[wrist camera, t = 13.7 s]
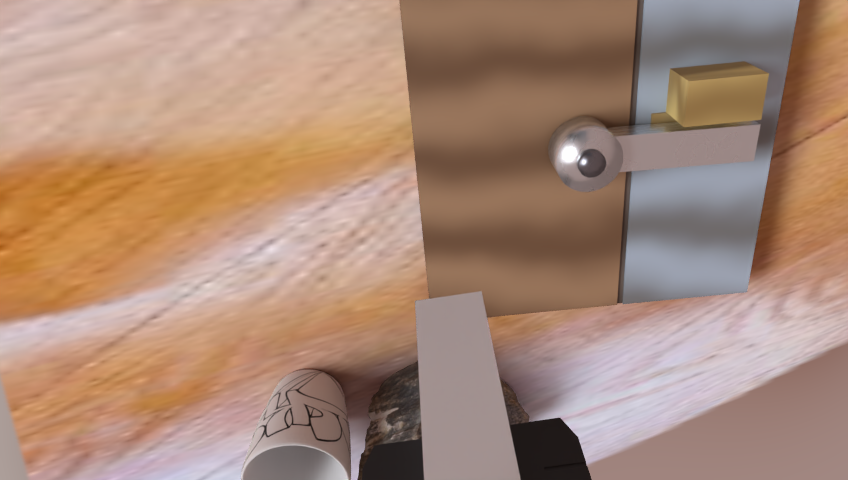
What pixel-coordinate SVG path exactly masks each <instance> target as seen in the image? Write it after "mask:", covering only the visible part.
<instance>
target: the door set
mask: <svg viewBox="0 0 848 480" xmlns="http://www.w3.org/2000/svg"><path fill="white" fill-rule="evenodd" d="M799 2H800V0H400V10H401V20H402V30H403V40H404V50H405V60H406V70H407V80H408V90H409V100H410V110H411V120H412V130H413V140H414V150H415V161H416V171H417V181H418V191H419V201H420V211H421V221H422V231H423V241H424V251H425V261H426V271H427V281H428V291H429V299H432V298H438V297H445V296H452V295H459V294H465V293H472V292H479V291H482V296H483V301H484V306H485V310H486V315H487V317H495V316H505V315H516V314H526V313H536V312H547V311H557V310H567V309H578V308H588V307H598V306H609V305H617V303H623V304H629V303H640V302H650V301H660V300H671V299H681V298H691V297H702V296H712V295H722V294H733V293H743V292H747V289H748V283H749V278H750V272H751V267H752V261H753V256H754V250H755V245H756V239H757V233H758V228H759V222H760V217H761V211H762V206H763V200H764V195H765V189H766V184H767V178H768V173H769V167H770V162H771V156H772V151H773V145H774V140H775V134H776V129H777V123H778V118H779V112H780V107H781V101H782V96H783V90H784V84H785V79H786V73H787V68H788V62H789V57H790V51H791V46H792V40H793V35H794V29H795V24H796V18H797V13H798V7H799ZM579 116H588V117H593V118H595V119H597V120H599V121H601V122H602V123H603V124H604V125H605V126H606V127H607V128H609V127H621V126H633V125H646V124H658V123H670V122H678V123H680V124H681V125H682V126H683V127H691V126H702V125H712V124H722V123H732V122H743V121H753V120H754V121H756V122H757V123H759V124H761V125H760V131H759V136H758V141H757V147H756V152H755V158H754V161H749V162H737V163H725V164H713V165H701V166H689V167H677V168H664V169H652V170H640V171H628V172H619V173H618V175H617V176H616V177H615V179H614V180H613V181H612V182H610V183H609V184H608V185H606V186H605V187H603V188H601V189H599V190H596V191H591V192H580V191H576V190H573V189H571V188H569V187H568V186H567V185H565V184H564V183H563V181H562V180H561V178H560V177H559V175H558V173H557V171H556V170H555V168H554V166H553V164H552V163H551V161H550V158H549V154H548V145H549V141H550V138H551V136H552V134H553V133H554V131H555V130H556V129H557V128H558V127H559V126H560V125H561V124H562V123H564V122H565V121H567V120H569V119H571V118H574V117H579Z"/></svg>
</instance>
